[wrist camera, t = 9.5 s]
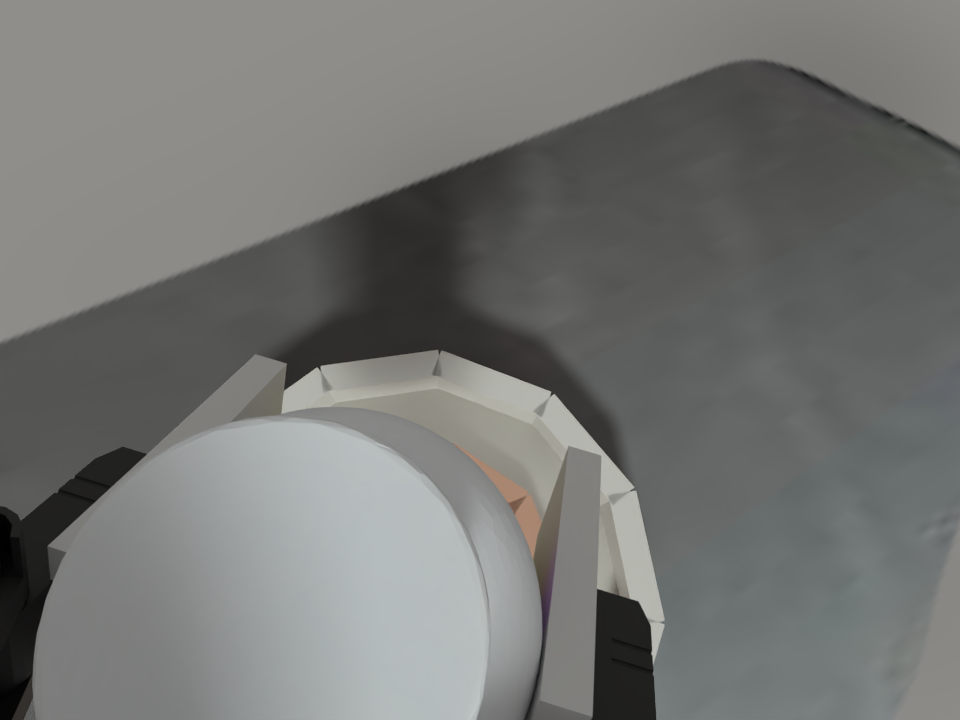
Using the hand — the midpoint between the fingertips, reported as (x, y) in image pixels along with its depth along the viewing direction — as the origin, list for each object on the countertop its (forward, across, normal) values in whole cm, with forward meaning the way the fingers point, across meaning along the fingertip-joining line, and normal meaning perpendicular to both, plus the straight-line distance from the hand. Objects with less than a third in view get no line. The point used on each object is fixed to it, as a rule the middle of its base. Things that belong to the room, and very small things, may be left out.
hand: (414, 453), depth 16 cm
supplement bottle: (+1, 0, -6) cm, 6 cm away
